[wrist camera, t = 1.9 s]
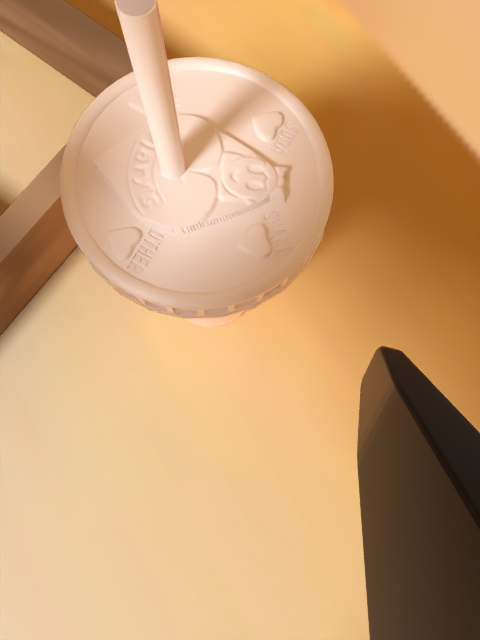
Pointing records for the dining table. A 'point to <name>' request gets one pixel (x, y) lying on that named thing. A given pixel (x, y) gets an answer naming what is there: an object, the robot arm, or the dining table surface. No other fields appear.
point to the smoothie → (195, 180)
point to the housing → (44, 191)
